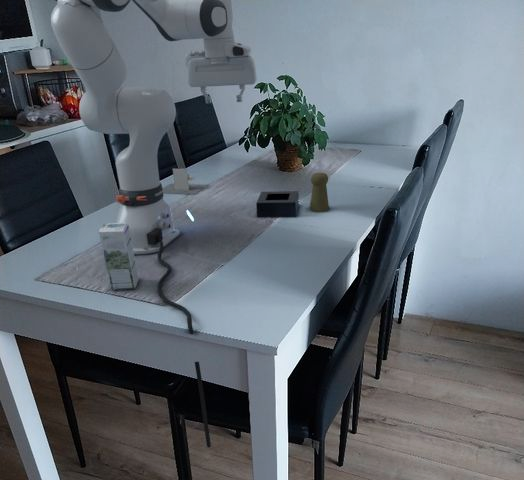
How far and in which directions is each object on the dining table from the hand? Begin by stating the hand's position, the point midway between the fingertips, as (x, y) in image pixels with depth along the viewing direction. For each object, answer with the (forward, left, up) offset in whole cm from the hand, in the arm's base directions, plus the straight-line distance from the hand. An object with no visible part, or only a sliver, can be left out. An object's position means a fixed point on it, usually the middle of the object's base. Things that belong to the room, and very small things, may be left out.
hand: (224, 102), depth 163 cm
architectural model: (+20, +22, -31) cm, 43 cm away
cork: (-6, -29, -31) cm, 43 cm away
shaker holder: (-7, -16, -31) cm, 36 cm away
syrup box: (-62, +15, -31) cm, 71 cm away
